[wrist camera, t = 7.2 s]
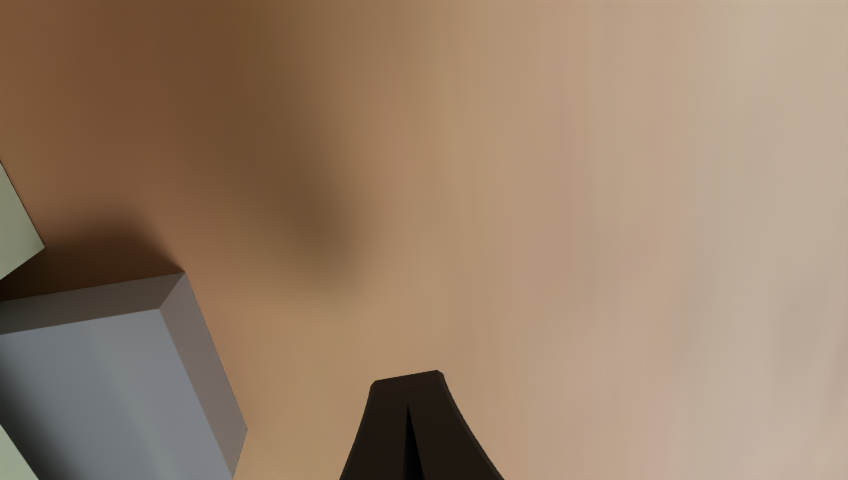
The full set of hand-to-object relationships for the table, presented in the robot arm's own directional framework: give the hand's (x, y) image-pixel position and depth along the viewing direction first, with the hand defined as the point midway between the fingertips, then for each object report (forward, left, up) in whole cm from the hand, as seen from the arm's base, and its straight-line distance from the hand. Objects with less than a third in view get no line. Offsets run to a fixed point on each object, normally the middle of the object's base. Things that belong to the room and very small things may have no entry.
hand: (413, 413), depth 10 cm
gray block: (-7, +5, -3) cm, 9 cm away
